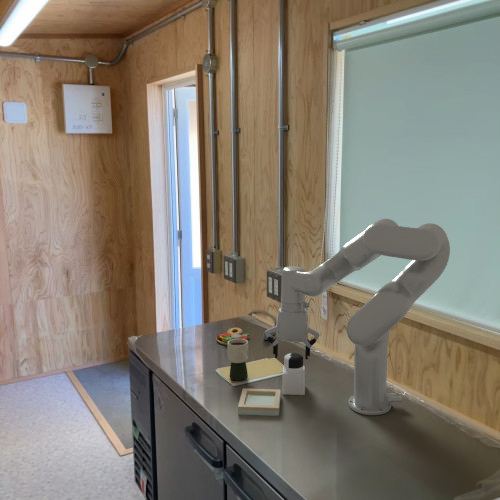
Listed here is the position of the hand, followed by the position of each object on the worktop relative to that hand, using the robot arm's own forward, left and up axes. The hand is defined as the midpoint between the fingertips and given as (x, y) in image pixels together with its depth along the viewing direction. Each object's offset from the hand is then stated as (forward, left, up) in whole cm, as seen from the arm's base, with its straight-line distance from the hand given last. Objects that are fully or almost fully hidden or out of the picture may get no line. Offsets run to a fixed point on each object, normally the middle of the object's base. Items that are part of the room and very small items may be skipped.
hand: (291, 357), depth 168 cm
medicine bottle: (-1, 0, -11) cm, 11 cm away
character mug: (+18, -8, -11) cm, 23 cm away
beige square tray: (+9, +11, -11) cm, 18 cm away
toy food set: (+25, -44, -12) cm, 52 cm away
